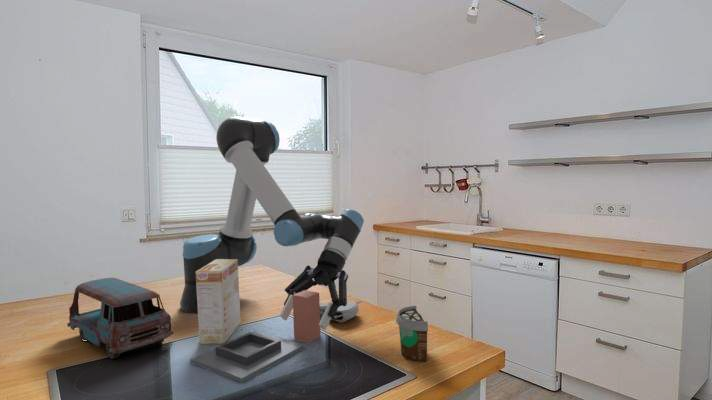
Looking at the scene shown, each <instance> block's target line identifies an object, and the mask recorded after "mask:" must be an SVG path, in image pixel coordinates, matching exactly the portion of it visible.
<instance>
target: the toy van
mask: <svg viewBox="0 0 712 400" xmlns="http://www.w3.org/2000/svg"><path fill="white" fill-rule="evenodd" d="M73 293H74V295H73V300H72V304H70V307H69V308H68V309H69V311H68V312H69V317H68V320H69V322H67V323H66V324H67V325H66V326H67V327H68V328H70V330H72V331H75V329H77V328H78V330H79V336H80V337H81V338H82V339H83V340H88V341H87V342H90V343H92V344H93V345H95V346H96V347H99V348H101V347H105V349H106V354H107V356H108V358H109V359H111V360H113V359H114V360H115V359H117V358H119V357H120V354H122V353H125V352H128V351H132V350H135V349H138V348H141V347H145V346H146V347H147V346H148V345H151V344H155V343H156V344H155V345H160V344H162V343H163V342H164V341H165V339H168V338H169V337H171V335H174V333H175V330H174V329H172V317H171V314H170V313H168V312H167V311H166V309H165V308H164V305H163V302H162V300H161V296H160V294H159V293H157V292H156V291H153V290H151V289H148V288H147V287H143V286H139V285H137V284H134V283H132V282H128V281H124V280H122V279H120V278H117V277H106V278H100V279H92V280H89V281H85V282H82V283H80V284H78V285H77V286H76V287H75V289H74V292H73ZM80 293H81V294H82V295H85V296H87V297H89V298H92V299H94V300H96V301H99V302H100V303H101V304H100V308H98V309H93V310H89V311H85V312H82V313H81V312H80V310H79V309H80V308H79V306H80V305H79V298H80ZM153 299H156V302H157V305H155V304H154V303H153ZM81 338H80V339H81ZM159 343H160V344H159Z"/></svg>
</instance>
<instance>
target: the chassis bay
mask: <svg viewBox="0 0 712 400" xmlns="http://www.w3.org/2000/svg"><path fill="white" fill-rule="evenodd" d="M304 349H305V345H304V344H302V343H299V342H294V341H291V340H287V339H284V338H281V337H276V336H273V335H270V334H266V333H262V332H259V331H255V330H254V331H249V332H247V333H244V334H242V335H239V336H238V337H235V338H233V339H230V340H228V341H226V342H225V343H223V344H218V345H216V346H214V348H212V349H210V350H207V351H205V352H202V353H200V354H198V355H196V356H194V357H191V358H190V360H189V362H190V364H193V365H195V366H197V367H201V368H202V369H205V370H208V371H211V372H213V373H216V374H217V375H220V376H224V377H227V378H229V379H232V380H233V381H236V382H239V383H242V384H243V383H244V382H246V381H248V380H249V379H252V378H253V377H256V376H257V375H259V374H261V373H263V372H265V371H266V370H268V369H270V368H272V367H273V366H275V365H277V364H279V363H281V362H283V361H285V360H287V359H288V358H290V357H292V356H293V355H296V354H297V353H299V352H301V351H303V350H304Z"/></svg>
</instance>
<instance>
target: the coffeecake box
mask: <svg viewBox="0 0 712 400" xmlns="http://www.w3.org/2000/svg"><path fill="white" fill-rule="evenodd" d="M195 273H196V289H197V306H198V313H197V322H198V323H197V324H198V339H199V341H198V344H200V345H208V344H209V345H210V344H213V345H215V344H216V345H217V344H218V345H221V344H223V343H226V342H227V340H228V339H229V338H230V337H231V336H232V335H233V333H234V332H235V331H236V330H237V328H239V326H240V325H241V323H242V321H241V304H240V302H241V301H240V300H241V299H240V282H239V266H238V259H216V260H214V261H212V262H211V263H209V264H207V265H206V266H204V267H203V268H201V269H199V270H198V271H196V272H195Z"/></svg>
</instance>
